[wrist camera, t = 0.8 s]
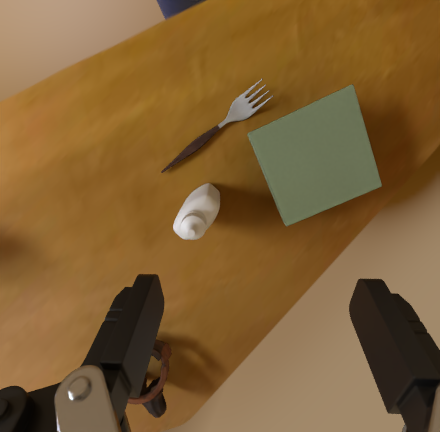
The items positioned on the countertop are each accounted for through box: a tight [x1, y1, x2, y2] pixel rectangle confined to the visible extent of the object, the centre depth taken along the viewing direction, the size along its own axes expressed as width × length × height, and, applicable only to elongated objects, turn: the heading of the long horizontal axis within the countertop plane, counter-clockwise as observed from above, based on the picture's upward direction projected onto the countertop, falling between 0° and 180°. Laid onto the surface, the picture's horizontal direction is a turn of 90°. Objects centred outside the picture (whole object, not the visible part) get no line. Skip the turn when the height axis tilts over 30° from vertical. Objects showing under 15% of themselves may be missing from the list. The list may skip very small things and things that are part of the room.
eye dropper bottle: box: [173, 183, 220, 240], centre depth 29 cm, size 4×6×12 cm
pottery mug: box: [127, 340, 172, 418], centre depth 40 cm, size 12×10×8 cm
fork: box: [161, 79, 273, 173], centre depth 31 cm, size 3×16×2 cm, turn 127°
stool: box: [247, 84, 382, 226], centre depth 30 cm, size 11×11×6 cm
